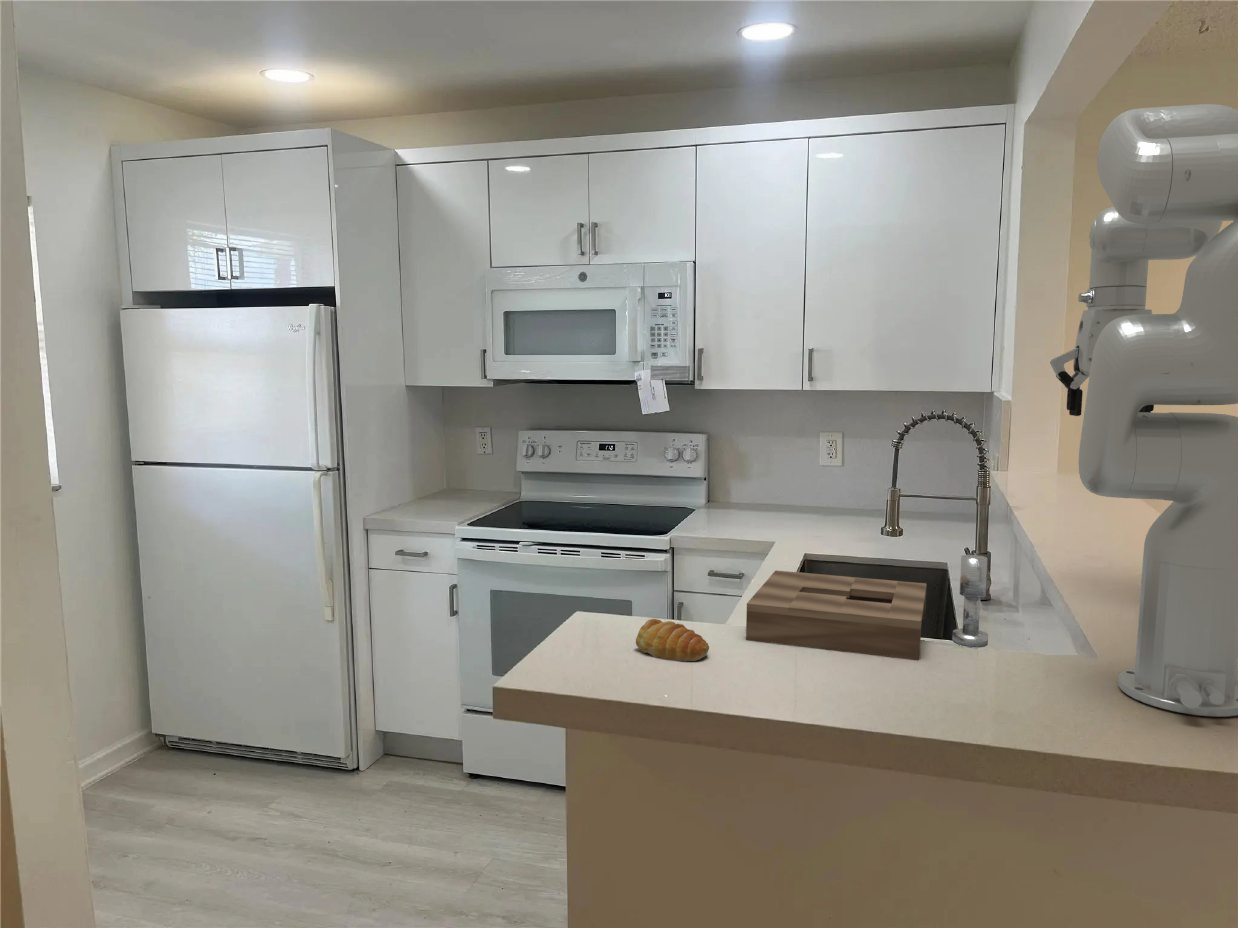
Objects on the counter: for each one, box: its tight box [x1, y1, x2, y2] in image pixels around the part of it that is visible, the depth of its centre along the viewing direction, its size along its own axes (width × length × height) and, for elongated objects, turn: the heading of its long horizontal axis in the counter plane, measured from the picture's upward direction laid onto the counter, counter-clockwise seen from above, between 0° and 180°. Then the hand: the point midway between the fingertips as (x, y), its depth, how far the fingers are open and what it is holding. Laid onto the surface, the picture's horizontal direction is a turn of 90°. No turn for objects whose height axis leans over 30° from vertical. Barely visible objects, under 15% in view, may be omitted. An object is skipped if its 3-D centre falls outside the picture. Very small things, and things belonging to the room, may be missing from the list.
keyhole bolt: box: [951, 554, 989, 648], centre depth 118 cm, size 4×4×12 cm
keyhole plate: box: [745, 569, 927, 661], centre depth 124 cm, size 20×22×5 cm
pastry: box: [635, 618, 710, 662], centre depth 114 cm, size 9×7×4 cm
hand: (1109, 415), depth 134 cm, fingers open, 9 cm apart
